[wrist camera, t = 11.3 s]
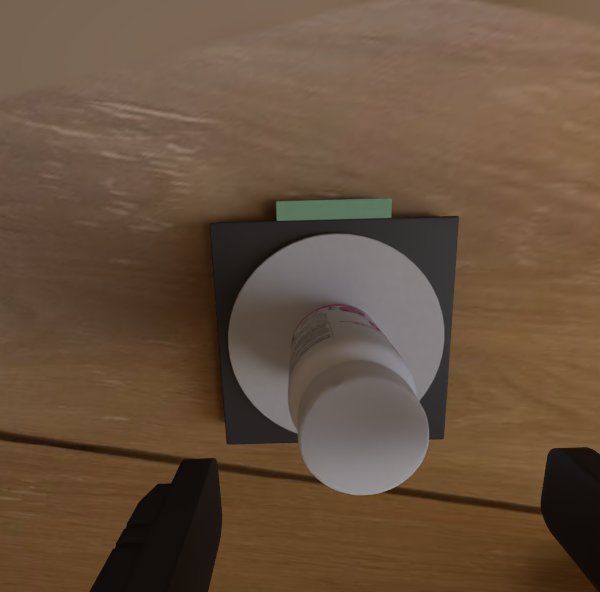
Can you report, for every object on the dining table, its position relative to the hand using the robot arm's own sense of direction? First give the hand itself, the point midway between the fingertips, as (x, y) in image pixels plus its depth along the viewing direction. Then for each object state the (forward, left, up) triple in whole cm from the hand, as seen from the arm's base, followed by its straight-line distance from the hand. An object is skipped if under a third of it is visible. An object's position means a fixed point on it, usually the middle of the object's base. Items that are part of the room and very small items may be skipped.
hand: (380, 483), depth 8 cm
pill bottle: (0, 0, -11) cm, 11 cm away
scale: (0, 0, -13) cm, 13 cm away
